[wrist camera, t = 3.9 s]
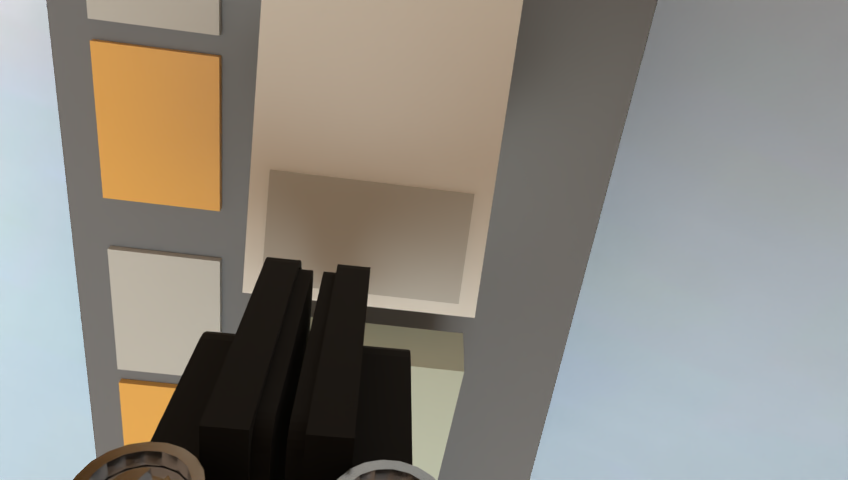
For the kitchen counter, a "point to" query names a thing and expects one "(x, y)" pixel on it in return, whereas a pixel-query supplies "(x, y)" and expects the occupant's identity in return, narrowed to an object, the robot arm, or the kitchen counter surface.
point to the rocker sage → (427, 385)
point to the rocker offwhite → (380, 143)
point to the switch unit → (229, 191)
